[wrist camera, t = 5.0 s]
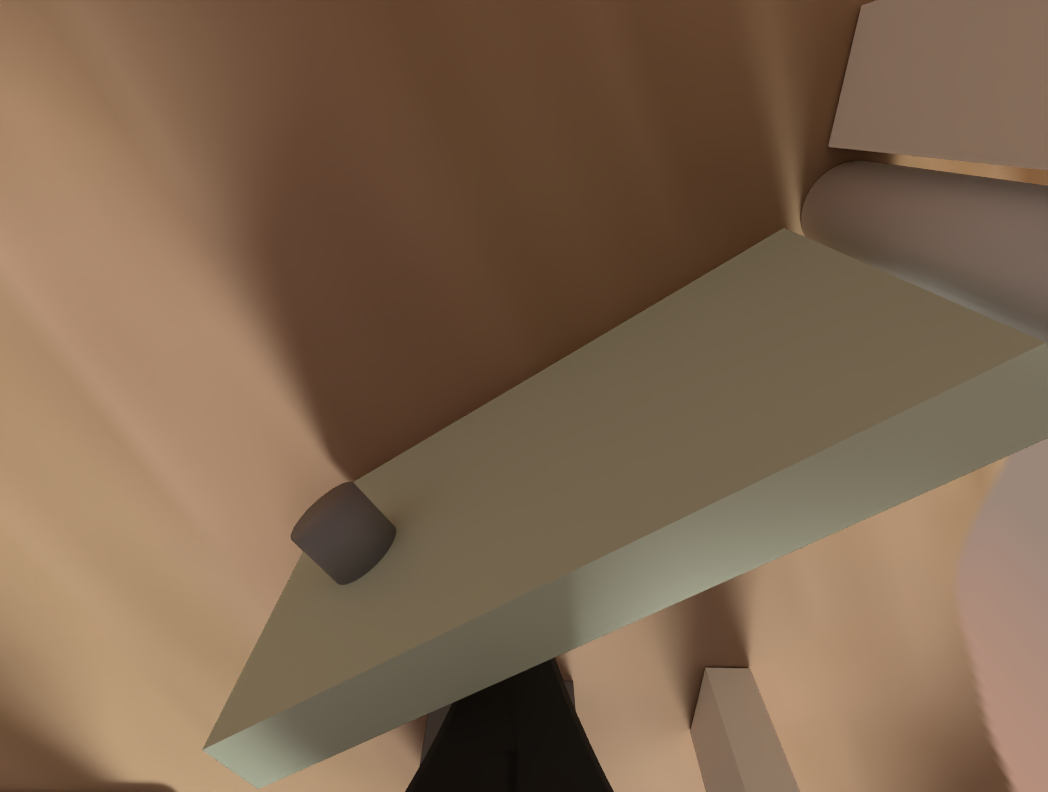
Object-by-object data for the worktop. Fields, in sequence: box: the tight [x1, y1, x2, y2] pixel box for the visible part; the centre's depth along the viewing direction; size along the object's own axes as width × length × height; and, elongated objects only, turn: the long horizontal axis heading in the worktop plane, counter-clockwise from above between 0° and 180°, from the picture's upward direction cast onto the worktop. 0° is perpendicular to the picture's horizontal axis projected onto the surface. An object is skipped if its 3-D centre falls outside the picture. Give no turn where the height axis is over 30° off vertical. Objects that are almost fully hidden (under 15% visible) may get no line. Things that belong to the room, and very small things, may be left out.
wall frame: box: [690, 0, 1048, 792], centre depth 10 cm, size 2×18×6 cm, turn 179°
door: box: [202, 228, 1048, 789], centre depth 9 cm, size 2×10×6 cm, turn 123°
